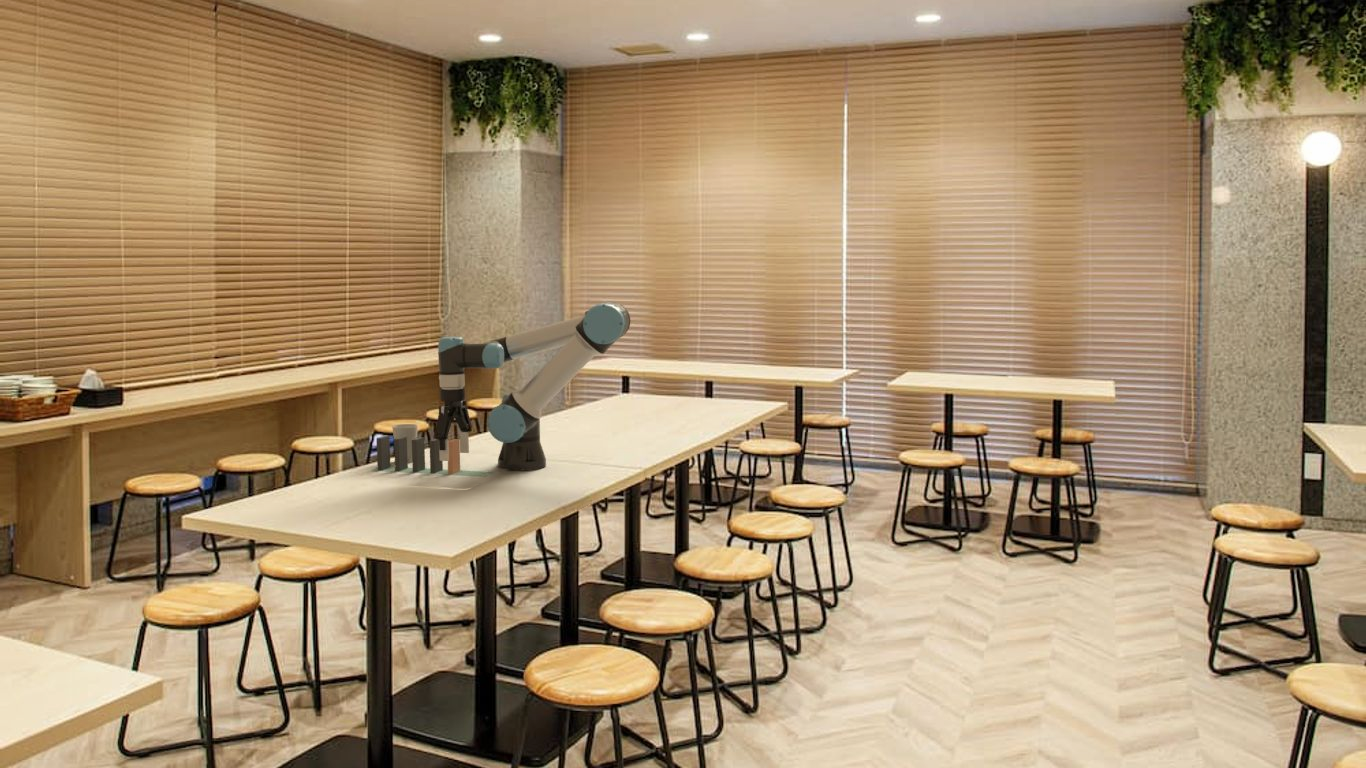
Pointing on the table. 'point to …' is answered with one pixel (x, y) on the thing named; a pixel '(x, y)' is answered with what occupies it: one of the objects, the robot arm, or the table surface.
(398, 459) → the domino
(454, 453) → the domino
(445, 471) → the runner
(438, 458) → the domino
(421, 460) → the domino
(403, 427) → the cup
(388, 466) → the domino
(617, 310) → the robot arm
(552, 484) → the table surface
